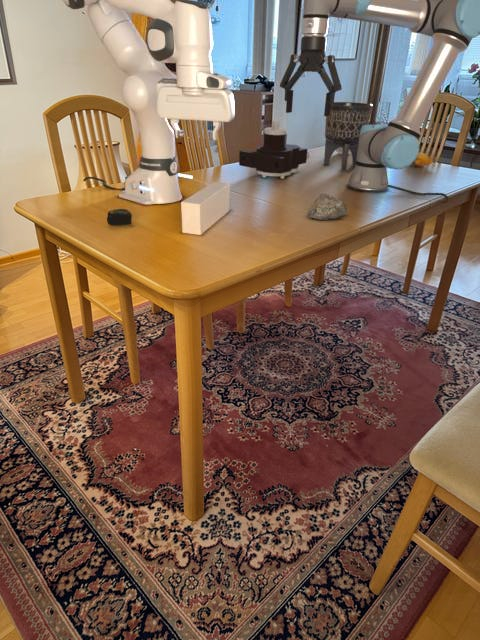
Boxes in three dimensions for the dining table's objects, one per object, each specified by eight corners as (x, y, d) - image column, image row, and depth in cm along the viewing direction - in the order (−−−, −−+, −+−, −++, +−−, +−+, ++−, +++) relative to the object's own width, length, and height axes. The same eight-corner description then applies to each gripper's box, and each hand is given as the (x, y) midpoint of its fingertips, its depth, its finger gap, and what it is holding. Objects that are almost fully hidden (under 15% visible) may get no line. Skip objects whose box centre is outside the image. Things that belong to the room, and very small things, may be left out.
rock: (331, 208, 151) (334, 189, 147) (352, 215, 145) (356, 195, 142) (304, 216, 143) (306, 195, 140) (325, 223, 137) (328, 202, 134)
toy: (408, 159, 210) (402, 152, 223) (410, 173, 213) (404, 165, 225) (433, 152, 207) (426, 145, 219) (435, 165, 210) (428, 158, 222)
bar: (213, 208, 149) (213, 181, 145) (229, 210, 148) (229, 183, 144) (182, 232, 128) (181, 202, 124) (200, 235, 127) (199, 204, 123)
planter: (313, 167, 208) (319, 103, 195) (331, 160, 222) (338, 101, 209) (353, 173, 199) (362, 107, 185) (369, 166, 213) (379, 104, 199)
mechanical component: (240, 120, 182) (283, 115, 202) (239, 174, 192) (280, 164, 212) (283, 126, 170) (325, 120, 190) (280, 183, 180) (320, 171, 200)
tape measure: (107, 228, 130) (105, 215, 128) (109, 220, 136) (108, 208, 134) (131, 227, 131) (130, 214, 129) (133, 220, 137) (131, 207, 135)
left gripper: (150, 78, 112) (154, 137, 119) (229, 81, 107) (229, 143, 114) (161, 77, 117) (164, 134, 124) (237, 80, 112) (236, 139, 119)
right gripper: (271, 35, 138) (268, 112, 148) (348, 35, 126) (338, 118, 136) (283, 36, 143) (279, 110, 154) (358, 36, 131) (348, 116, 142)
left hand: (196, 138), depth 119 cm, fingers open, 8 cm apart
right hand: (307, 114), depth 145 cm, fingers open, 13 cm apart
